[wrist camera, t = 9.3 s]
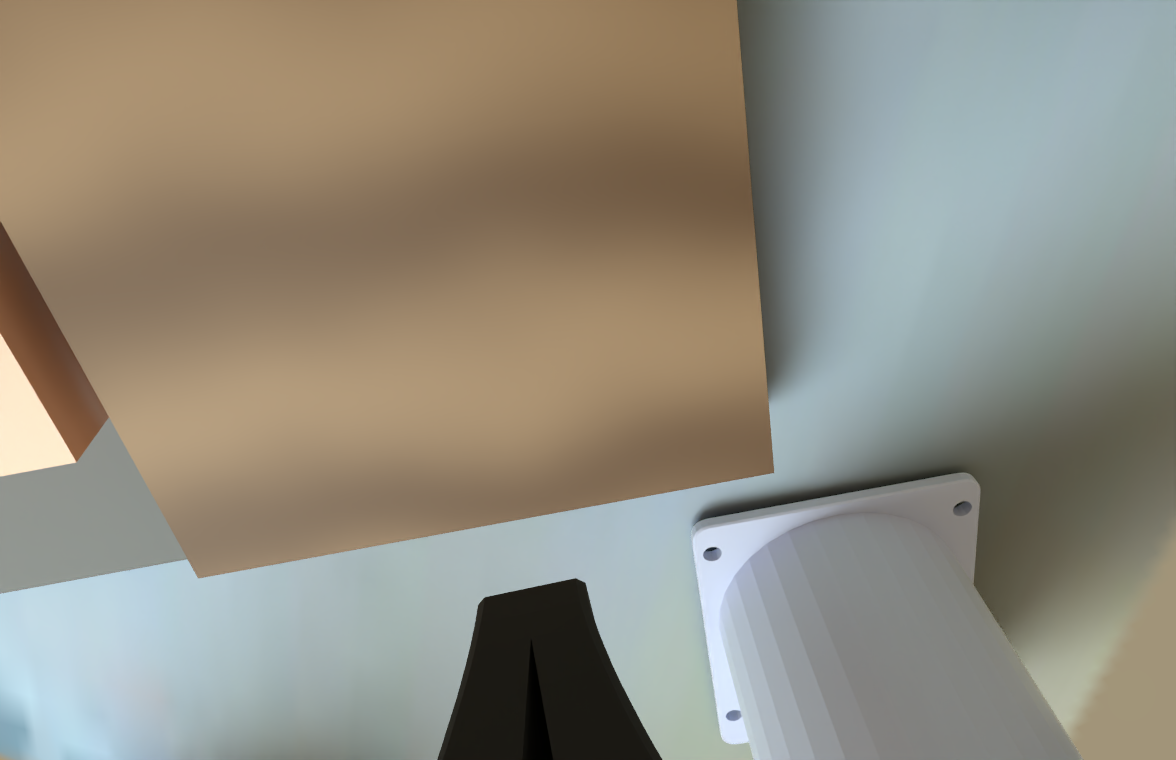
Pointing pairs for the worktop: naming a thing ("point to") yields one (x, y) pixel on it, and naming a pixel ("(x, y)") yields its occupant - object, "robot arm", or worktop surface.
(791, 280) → the worktop surface
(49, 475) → the mat
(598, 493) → the brown wooden flat slab
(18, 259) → the tile
